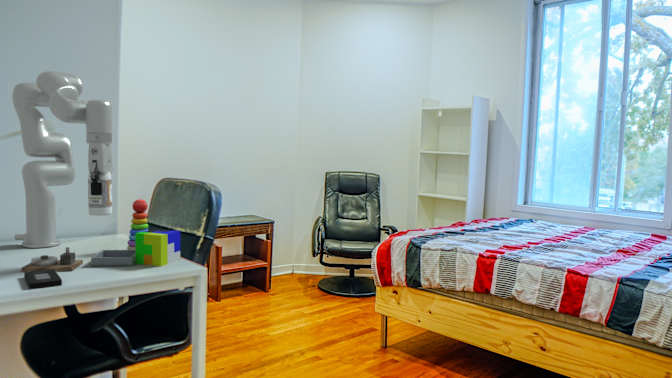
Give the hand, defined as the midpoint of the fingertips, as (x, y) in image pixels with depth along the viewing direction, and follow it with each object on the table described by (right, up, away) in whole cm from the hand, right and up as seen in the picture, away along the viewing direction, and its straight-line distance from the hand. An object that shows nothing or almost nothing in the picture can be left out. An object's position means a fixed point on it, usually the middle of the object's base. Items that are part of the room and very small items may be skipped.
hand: (100, 193), depth 164 cm
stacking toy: (+4, -21, +21) cm, 30 cm away
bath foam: (0, -7, +1) cm, 7 cm away
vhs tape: (-5, -25, -23) cm, 34 cm away
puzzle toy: (+17, -23, +4) cm, 29 cm away
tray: (+5, -22, +2) cm, 23 cm away
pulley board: (-11, -23, -8) cm, 26 cm away
